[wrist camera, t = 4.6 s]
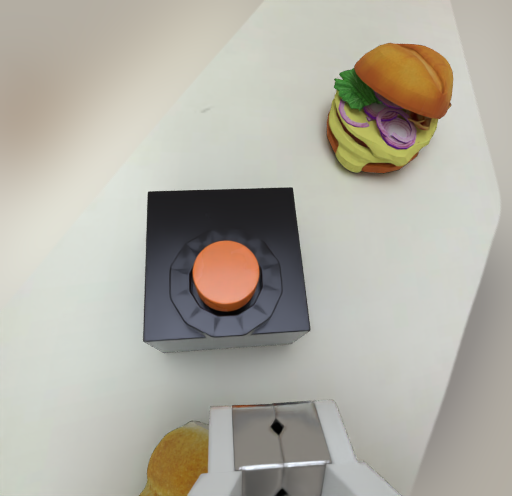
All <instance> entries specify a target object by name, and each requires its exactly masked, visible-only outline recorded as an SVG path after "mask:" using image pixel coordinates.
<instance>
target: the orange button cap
mask: <svg viewBox="0 0 512 496" xmlns="http://www.w3.org/2000/svg"><path fill="white" fill-rule="evenodd" d="M193 280H194V284H195V287H196V290H197V293H198V295H199V297H200V298H201V300H202V301H203V302H204V303H205V304H206V305H207V306H209V307H210V308H212V309H215V310H218V311H224V312H228V311H234V310H237V309H240V308H241V307H243V306H244V305H246V304H247V303H248V302H249V301H250V300H251V298H252V297H253V295H254V293H255V290H256V287H257V283H258V280H259V265H258V261H257V259H256V257H255V256H254V254H253V253H252V252H251V251H250V250H249V249H248V248H247V247H246V246H244V245H242V244H240V243H238V242H234V241H218V242H215V243H212V244H210V245H208V246H207V247H205V248H204V249H203V250H202V251H201V252H200V253H199V254H198V256H197V258H196V260H195V262H194V265H193Z"/></svg>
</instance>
